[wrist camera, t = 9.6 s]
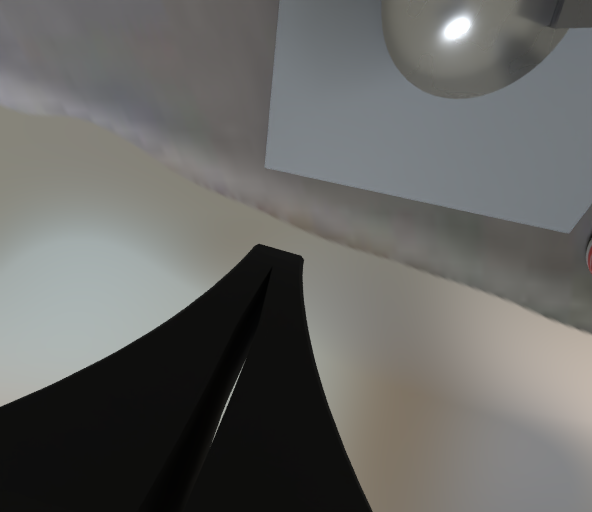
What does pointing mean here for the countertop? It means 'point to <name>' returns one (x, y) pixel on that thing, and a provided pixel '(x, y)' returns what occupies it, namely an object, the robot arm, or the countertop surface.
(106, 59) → the countertop surface
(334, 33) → the board
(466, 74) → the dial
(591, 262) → the pill bottle
